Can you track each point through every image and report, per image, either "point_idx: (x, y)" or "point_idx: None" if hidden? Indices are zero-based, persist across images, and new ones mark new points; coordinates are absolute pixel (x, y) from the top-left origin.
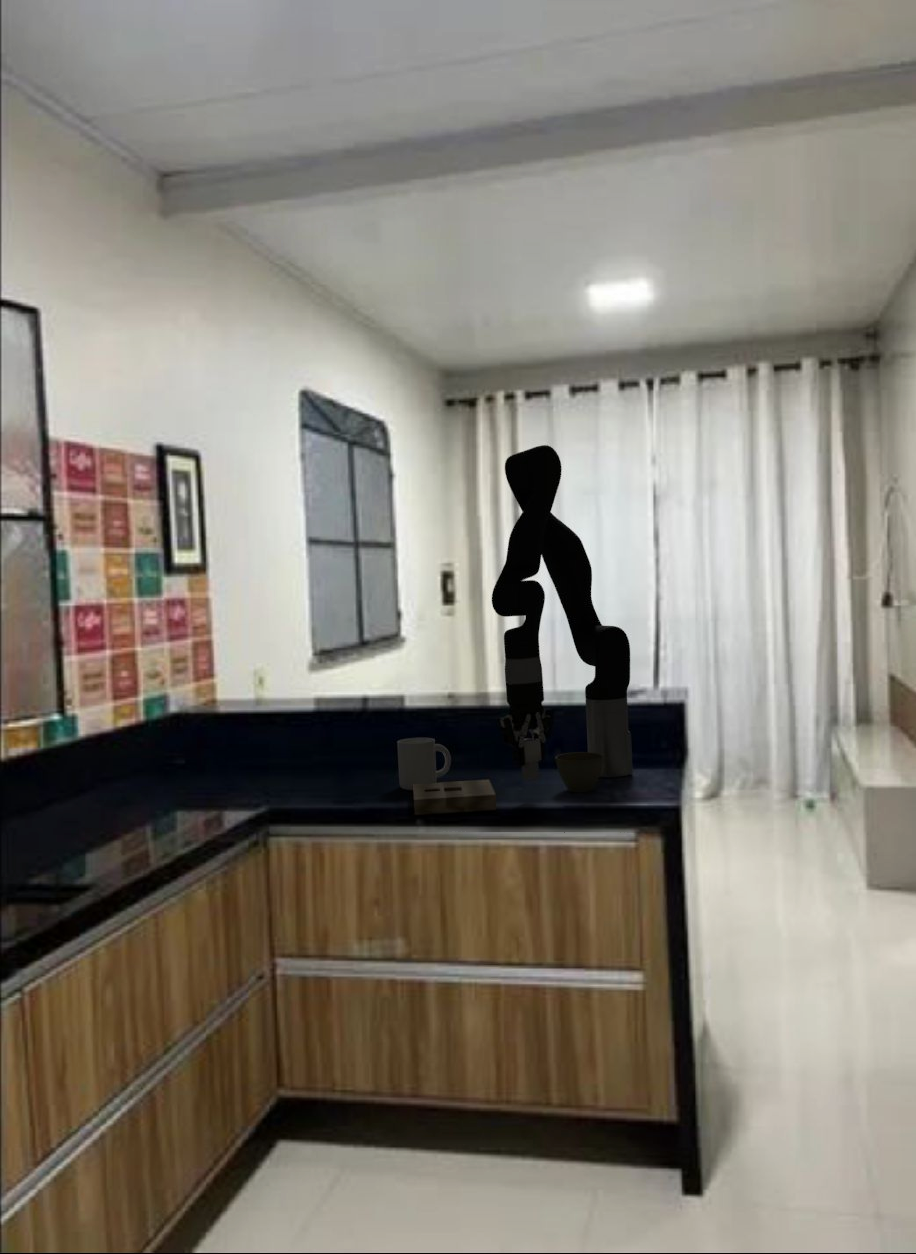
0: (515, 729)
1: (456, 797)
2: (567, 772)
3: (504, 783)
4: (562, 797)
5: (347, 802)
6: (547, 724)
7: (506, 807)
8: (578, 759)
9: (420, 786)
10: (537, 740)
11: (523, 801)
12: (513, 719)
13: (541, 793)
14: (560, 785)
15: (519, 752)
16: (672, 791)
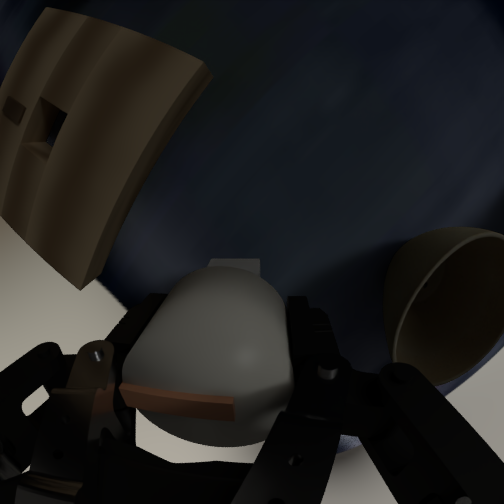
0: (77, 430)
1: (14, 229)
2: (384, 317)
3: (354, 11)
4: (317, 301)
5: (12, 4)
6: (395, 487)
7: (131, 271)
8: (500, 253)
9: (32, 41)
10: (242, 438)
11: (207, 253)
12: (24, 497)
13: (326, 210)
14: (436, 177)
15: None
16: (445, 394)
